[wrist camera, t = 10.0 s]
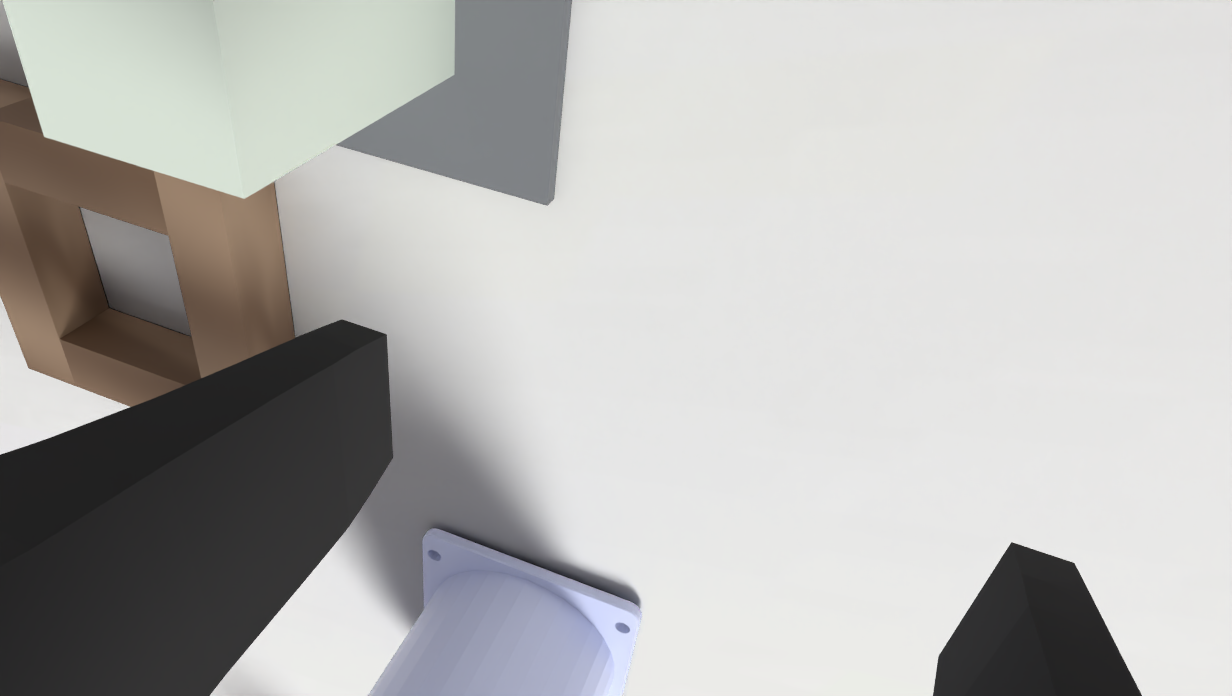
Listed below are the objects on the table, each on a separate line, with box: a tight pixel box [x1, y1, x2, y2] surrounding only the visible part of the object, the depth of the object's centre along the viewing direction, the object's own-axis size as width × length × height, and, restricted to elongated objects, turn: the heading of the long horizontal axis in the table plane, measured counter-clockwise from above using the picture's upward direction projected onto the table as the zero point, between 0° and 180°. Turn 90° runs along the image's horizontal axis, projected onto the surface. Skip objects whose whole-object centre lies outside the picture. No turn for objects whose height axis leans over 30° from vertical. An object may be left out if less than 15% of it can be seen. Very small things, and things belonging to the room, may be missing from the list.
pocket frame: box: [0, 79, 295, 407], centre depth 25 cm, size 10×10×2 cm
